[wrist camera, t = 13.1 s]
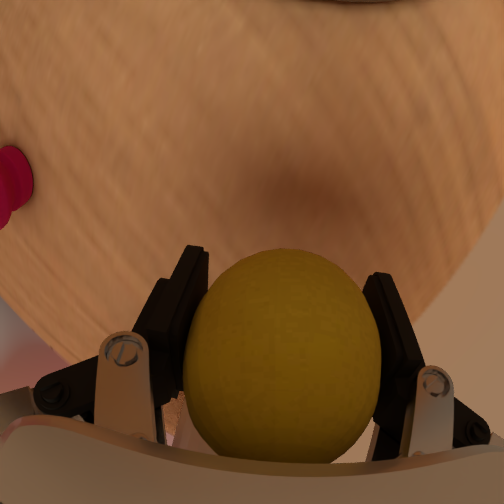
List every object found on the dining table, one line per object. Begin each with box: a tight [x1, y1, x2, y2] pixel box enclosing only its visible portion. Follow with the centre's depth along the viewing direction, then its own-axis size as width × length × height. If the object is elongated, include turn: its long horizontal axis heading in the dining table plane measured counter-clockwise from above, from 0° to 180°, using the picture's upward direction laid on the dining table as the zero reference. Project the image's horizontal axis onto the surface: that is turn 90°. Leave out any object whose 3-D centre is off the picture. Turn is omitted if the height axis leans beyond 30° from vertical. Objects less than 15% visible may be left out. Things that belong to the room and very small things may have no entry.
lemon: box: [183, 248, 381, 464], centre depth 8 cm, size 6×6×8 cm
